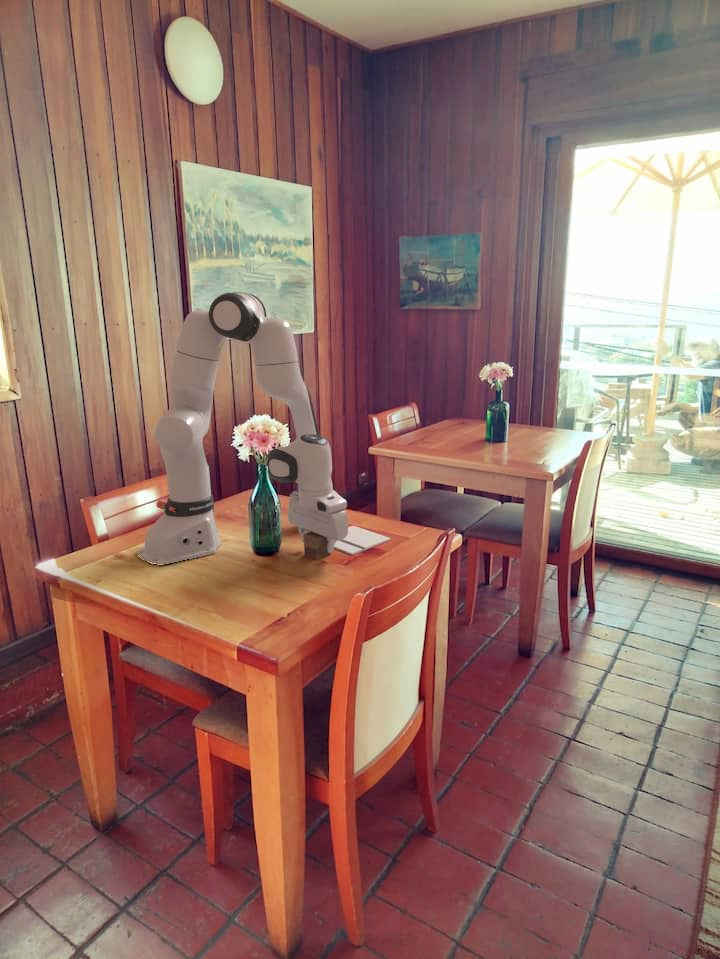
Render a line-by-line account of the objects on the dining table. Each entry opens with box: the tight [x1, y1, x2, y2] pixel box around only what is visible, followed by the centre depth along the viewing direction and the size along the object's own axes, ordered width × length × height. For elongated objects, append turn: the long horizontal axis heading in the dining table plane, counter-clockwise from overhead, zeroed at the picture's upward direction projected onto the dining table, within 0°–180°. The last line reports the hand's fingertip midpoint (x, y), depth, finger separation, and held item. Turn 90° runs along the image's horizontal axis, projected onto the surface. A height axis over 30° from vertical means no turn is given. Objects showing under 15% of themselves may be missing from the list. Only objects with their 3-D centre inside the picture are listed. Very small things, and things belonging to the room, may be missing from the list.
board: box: [334, 525, 392, 556], centre depth 184 cm, size 15×15×1 cm
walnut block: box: [303, 531, 332, 561], centre depth 174 cm, size 5×5×6 cm
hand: (317, 547), depth 174 cm, fingers open, 8 cm apart
